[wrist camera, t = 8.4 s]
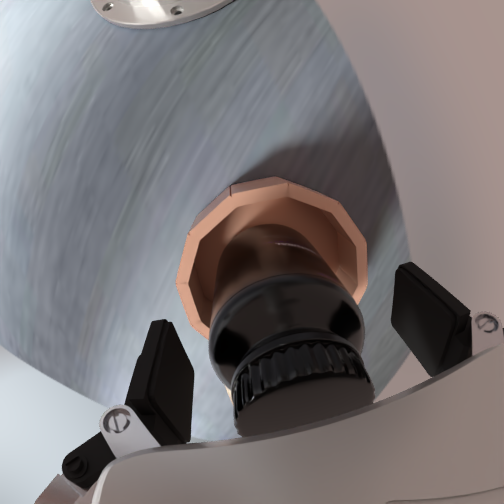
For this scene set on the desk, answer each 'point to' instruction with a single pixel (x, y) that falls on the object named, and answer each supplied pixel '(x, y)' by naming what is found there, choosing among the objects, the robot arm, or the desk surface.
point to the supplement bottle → (285, 333)
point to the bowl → (267, 212)
